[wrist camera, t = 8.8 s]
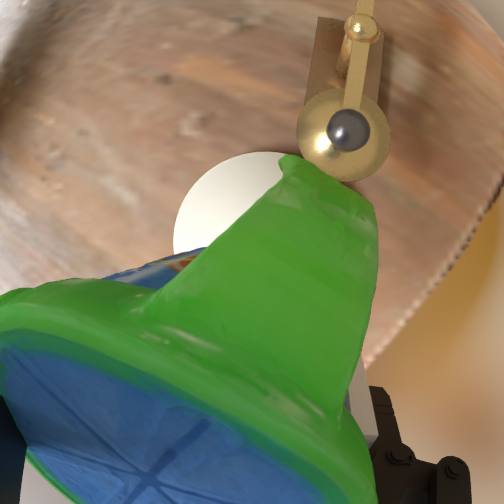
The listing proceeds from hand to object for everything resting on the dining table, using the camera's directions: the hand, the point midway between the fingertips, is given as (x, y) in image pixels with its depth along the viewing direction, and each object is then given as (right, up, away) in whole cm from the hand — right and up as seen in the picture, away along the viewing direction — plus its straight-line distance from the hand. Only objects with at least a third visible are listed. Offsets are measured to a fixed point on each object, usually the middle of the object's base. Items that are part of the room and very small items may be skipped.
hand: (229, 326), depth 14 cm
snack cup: (0, 0, +1) cm, 1 cm away
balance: (+9, +19, +9) cm, 23 cm away
